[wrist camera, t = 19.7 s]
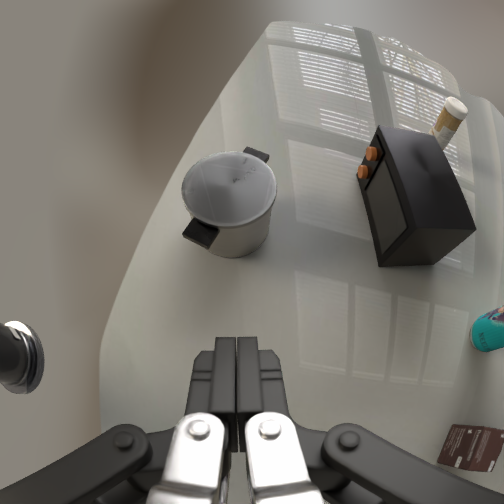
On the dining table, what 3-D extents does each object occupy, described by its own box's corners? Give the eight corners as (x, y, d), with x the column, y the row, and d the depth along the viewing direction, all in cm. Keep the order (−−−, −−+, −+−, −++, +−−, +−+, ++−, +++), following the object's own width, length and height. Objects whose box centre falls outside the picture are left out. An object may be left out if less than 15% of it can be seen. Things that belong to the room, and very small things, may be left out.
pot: (240, 286, 36) (239, 258, 28) (170, 249, 38) (152, 215, 30) (289, 200, 41) (298, 160, 34) (224, 173, 43) (221, 132, 35)
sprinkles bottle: (420, 140, 49) (446, 92, 37) (438, 149, 48) (466, 103, 36) (420, 154, 47) (449, 104, 35) (439, 163, 47) (470, 116, 34)
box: (451, 423, 27) (485, 424, 21) (475, 429, 26) (508, 430, 20) (435, 462, 25) (467, 471, 18) (461, 466, 24) (492, 472, 17)
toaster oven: (371, 267, 37) (409, 227, 27) (349, 174, 44) (371, 123, 34) (433, 264, 38) (476, 229, 28) (407, 178, 44) (434, 135, 34)
